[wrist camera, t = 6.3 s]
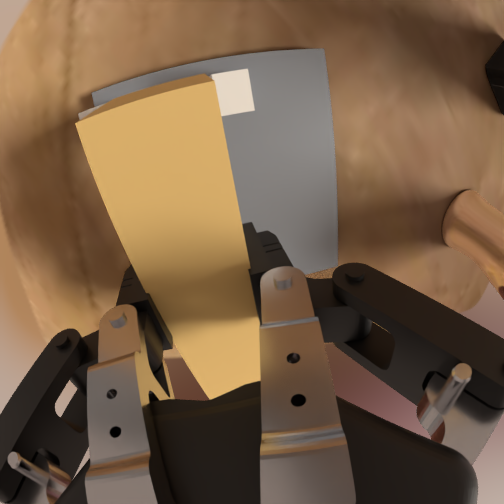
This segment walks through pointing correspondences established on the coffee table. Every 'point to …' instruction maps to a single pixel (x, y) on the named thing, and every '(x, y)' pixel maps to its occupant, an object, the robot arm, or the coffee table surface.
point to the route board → (272, 144)
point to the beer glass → (477, 234)
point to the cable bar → (180, 221)
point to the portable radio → (497, 75)
